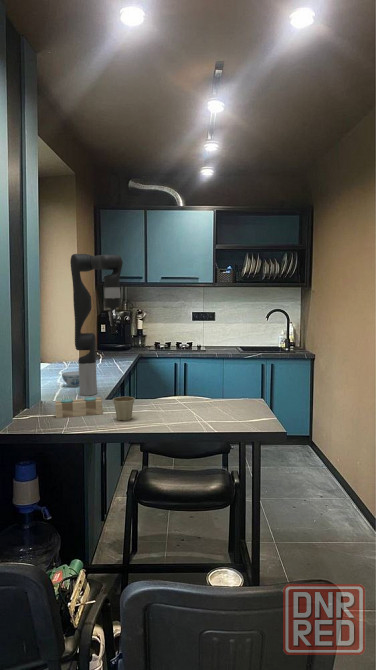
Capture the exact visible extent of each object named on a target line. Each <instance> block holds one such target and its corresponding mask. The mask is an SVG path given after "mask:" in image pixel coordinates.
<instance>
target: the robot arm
mask: <svg viewBox="0 0 376 670" xmlns="http://www.w3.org/2000/svg"><path fill="white" fill-rule="evenodd" d="M122 268H123V258H122V256H120V255H118V254H101V255H99V254H98V255H92V254H87V253H73V254H72V255H71V257H70V271H71V279H72V291H73V296H72V297H73V313H74V314H73V315H74V346H75V349H76V351H89V352H88V353H87V354H85V355H83V356H80V357H78V371H79V396H87V397H88V396H95V395H97V394H98V384H97V383H98V382H97V381H98V380H97V379H98V378H97V358H96V356H97V355H96V335H95V334H94V332H87V333H86V332H81V331H82V327H83V325H84V323H85V321H86V320H87V318H88V316H89V315H90V313H91V311H92V296H91V293H90V292H89V290H88V289H87V287H86V286H85V284H84V283H83V280H82V277H81V273H82V272H84V273H86V272H90V271H92V270H99V271H103V270H104V271H105V270H107V271H108V270H109V271H112V272H111V274H107V275H105V276H104V278H103V279H104V283H103V284H104V291H103V292H104V293H103V294H104V297H103V298H104V308H109V311H108V317H109V324H110V333H111V334H112V335H113V334H114V335H115V334H117V324H118V322H117V321H118V312H119V311H117V308H121V307H122V305H121V303H122V302H121V300H122V299H121V298H122V297H121V289H120V278H121V273H122Z"/></svg>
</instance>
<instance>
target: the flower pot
mask: <svg viewBox="0 0 376 670" xmlns="http://www.w3.org/2000/svg"><path fill="white" fill-rule="evenodd" d="M135 400H136V398H135V397H132V396H119V397H114V398H112V402H113V405H114V410H115V416H116V420H118V421H129V420H131V419H132V417H133V409H134V408H133V407H134V403H135Z"/></svg>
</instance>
